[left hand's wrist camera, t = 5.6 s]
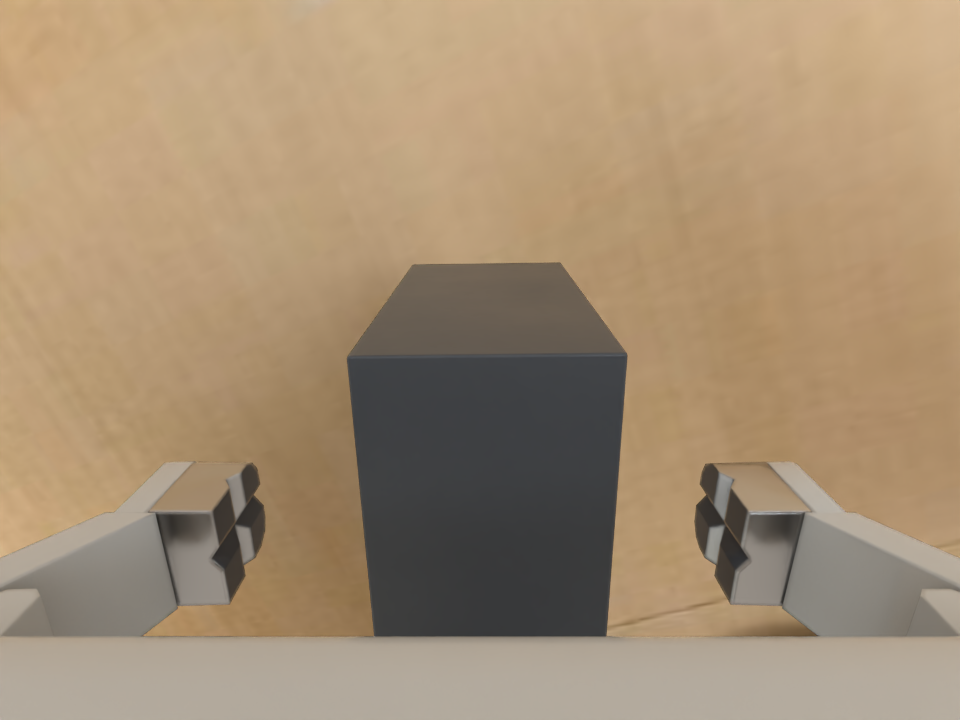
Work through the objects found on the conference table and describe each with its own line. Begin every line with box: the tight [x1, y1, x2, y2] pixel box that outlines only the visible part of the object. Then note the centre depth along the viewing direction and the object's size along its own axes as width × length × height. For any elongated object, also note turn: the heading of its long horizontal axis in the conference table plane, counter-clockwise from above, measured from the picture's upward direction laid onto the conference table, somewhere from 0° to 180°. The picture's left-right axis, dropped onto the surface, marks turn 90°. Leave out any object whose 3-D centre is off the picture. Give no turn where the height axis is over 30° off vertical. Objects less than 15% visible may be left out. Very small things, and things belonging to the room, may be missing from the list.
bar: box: [347, 263, 627, 636], centre depth 18 cm, size 27×5×9 cm, turn 1°
